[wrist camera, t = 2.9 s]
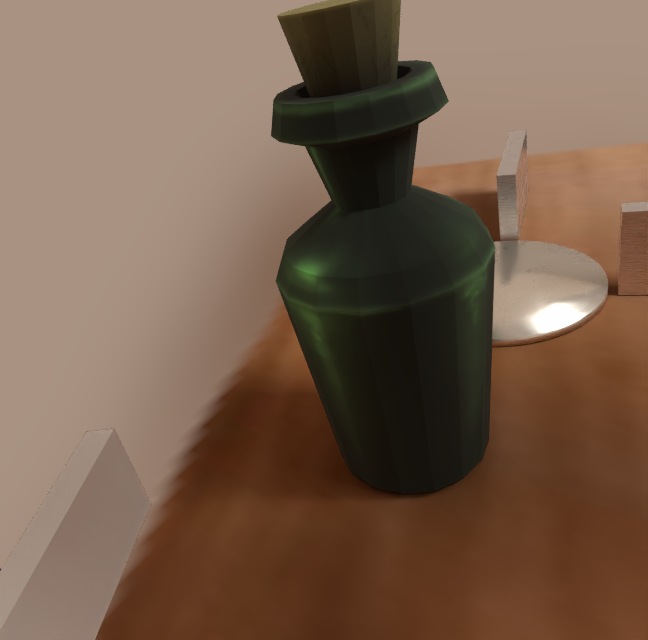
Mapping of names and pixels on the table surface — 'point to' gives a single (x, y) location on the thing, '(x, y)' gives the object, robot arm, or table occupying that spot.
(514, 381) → the table surface
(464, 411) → the potion bottle
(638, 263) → the shiny disc with plates
